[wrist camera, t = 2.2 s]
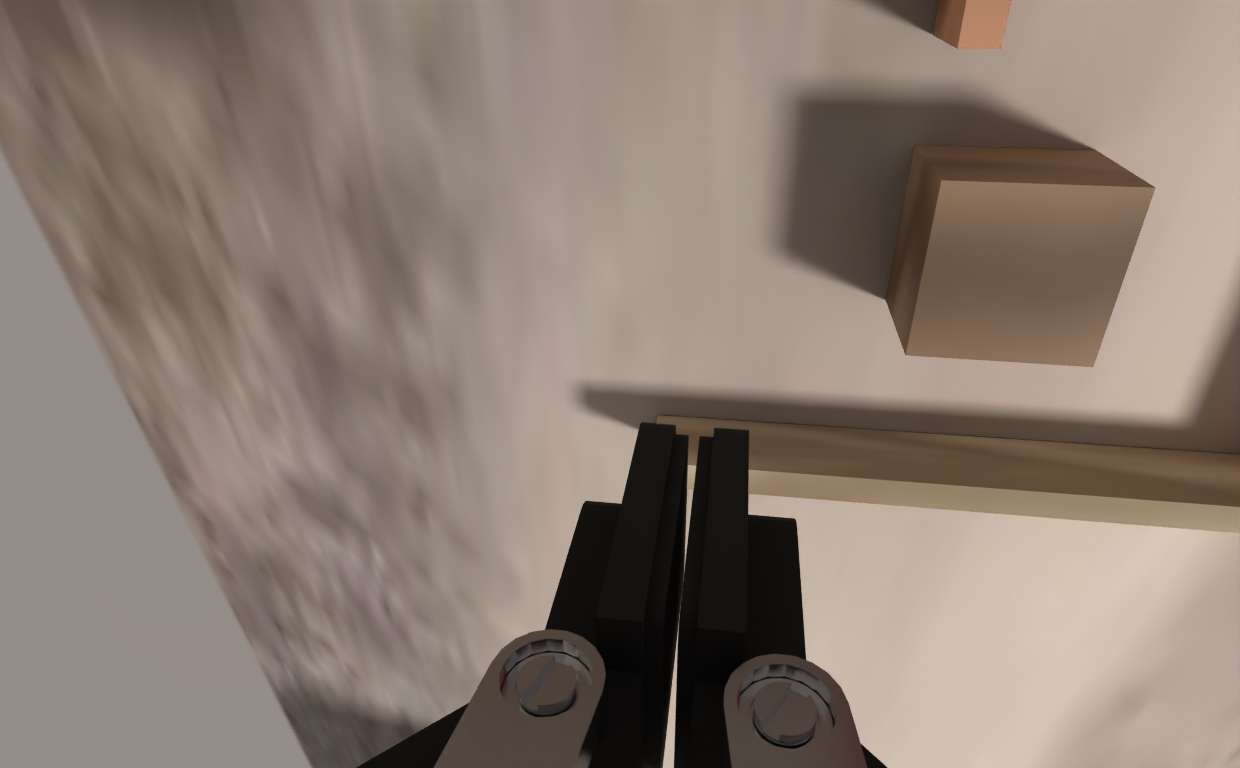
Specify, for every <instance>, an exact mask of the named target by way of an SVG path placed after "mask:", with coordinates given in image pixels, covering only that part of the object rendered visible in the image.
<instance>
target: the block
mask: <svg viewBox="0 0 1240 768" xmlns="http://www.w3.org/2000/svg"><path fill="white" fill-rule="evenodd" d="M1154 190H1155V187H1154V186H1152V185H1150V184H1149V183H1147V182H1146V181H1144V180H1142V179H1141V178H1139V177H1138V176H1136V175H1134V174H1133V173H1131V172H1130V171H1128V170H1127V169H1125V168H1123V167H1122V166H1120V165H1119V164H1117V163H1115V162H1114V161H1112V160H1111V159H1109V158H1107V157H1106V156H1104V155H1103V154H1101V153H1100V152H1098V151H1096V150H1081V149H1046V148H1011V147H975V146H940V145H914V149H913V155H912V160H911V166H910V171H909V177H908V182H907V188H906V193H905V198H904V204H903V209H902V215H901V220H900V226H899V231H898V237H897V242H896V248H895V253H894V259H893V264H892V269H891V275H890V280H889V286H888V291H887V297H886V302H887V305H888V308H889V310H890V313H891V316H892V319H893V322H894V324H895V327H896V330H897V333H898V336H899V338H900V341H901V344H902V347H903V349H904V352H905V355H911V356H927V357H942V358H958V359H974V360H990V361H1006V362H1021V363H1037V364H1053V365H1069V366H1085V367H1093V366H1094V363H1095V360H1096V357H1097V354H1098V351H1099V349H1100V346H1101V343H1102V340H1103V337H1104V334H1105V331H1106V328H1107V326H1108V323H1109V320H1110V317H1111V314H1112V311H1113V308H1114V305H1115V302H1116V300H1117V297H1118V294H1119V291H1120V288H1121V285H1122V282H1123V279H1124V277H1125V274H1126V271H1127V268H1128V265H1129V262H1130V259H1131V256H1132V254H1133V251H1134V248H1135V245H1136V242H1137V239H1138V236H1139V233H1140V231H1141V228H1142V225H1143V222H1144V219H1145V216H1146V213H1147V210H1148V207H1149V205H1150V202H1151V199H1152V196H1153V193H1154Z"/></svg>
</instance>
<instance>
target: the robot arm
mask: <svg viewBox="0 0 1240 768" xmlns="http://www.w3.org/2000/svg"><path fill="white" fill-rule="evenodd" d="M688 447H689V435H683V434H676V425H672V424H657V423H643V422H642V423H641V424H640V427H639V431H638V436H637V440H636V444H635V449H634V453H633V457H632V461H631V466H630V470H629V474H628V479H627V483H626V487H625V491H624V496H623V500H622V504H617V503H605V502H593V501H585V503H584V504H583V506H582V509H581V512H580V515H579V519H578V522H577V525H576V529H575V532H574V535H573V539H572V542H571V545H570V549H569V552H568V555H567V558H566V562H565V565H564V568H563V572H562V575H561V578H560V582H559V585H558V588H557V592H556V595H555V598H554V602H553V605H552V608H551V612H550V615H549V618H548V622H547V625H546V628H545V630H541V631H534V632H531V633H528V634H526V635H523V636H521V637H518V638H516V639H515V640H513V641H512V642H510V643H509V644H508V645H506V646H505V647H504V648H502V649H501V651H500V652H499V653H498V655H497V656H496V657H495V659H494V660H493V661H492V663H491V664H490V666H489V668H488V670H487V672H486V673H485V675H484V677H483V679H482V681H481V683H480V684H479V686H478V688H477V690H476V692H475V693H474V695H473V697H472V699H471V701H470V703H468V704H466V705H464V706H463V707H461V708H459V709H457V710H456V711H454V712H452V713H450V714H449V715H447V716H445V717H443V718H442V719H440V720H438V721H437V722H435V723H433V724H431V725H430V726H428V727H426V728H424V729H423V730H421V731H419V732H417V733H416V734H414V735H412V736H411V737H409V738H407V739H405V740H404V741H402V742H400V743H398V744H397V745H395V746H393V747H391V748H390V749H388V750H386V751H385V752H383V753H381V754H379V755H378V756H376V757H374V758H372V759H371V760H369V761H367V762H365V763H364V764H362V765H360V766H359V767H357V768H662V767H663V758H664V749H665V740H666V731H667V723H668V714H669V705H670V696H671V687H672V678H673V669H674V660H675V651H676V642H677V633H678V624H679V634H678V659H677V691H676V722H675V753H674V768H887V767H886V766H885V765H884V764H883V763H882V762H881V761H879V760H878V759H877V758H876V757H875V756H874V755H873V754H872V753H871V752H869V751H868V750H867V749H866V748H865V747H864V746H863V745H862V744H861V743H860V741H859V737H858V734H857V730H856V727H855V723H854V720H853V717H852V713H851V710H850V706H849V703H848V701H847V699H846V697H845V695H844V693H843V691H842V689H841V687H840V686H839V685H838V684H837V682H836V681H835V680H834V679H833V678H832V677H831V676H830V675H829V674H828V673H827V672H826V671H824V670H823V669H821V668H820V667H818V666H817V665H815V664H814V663H812V662H809V661H807V660H806V652H805V638H804V623H803V608H802V594H801V579H800V564H799V549H798V535H797V524H796V520H795V519H793V518H781V517H770V516H758V515H748V486H749V430H743V429H729V428H714V435H713V437H710V436H700V437H699V446H698V455H697V464H696V473H695V482H694V491H693V500H692V509H691V518H690V527H689V536H688V545H687V554H686V563H685V572H684V561H685V532H686V504H687V476H688ZM683 577H684V581H683ZM682 588H683V590H682ZM681 597H682V599H681ZM680 606H681V608H680ZM679 615H680V619H679Z"/></svg>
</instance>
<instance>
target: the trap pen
mask: <svg viewBox="0 0 1240 768" xmlns="http://www.w3.org/2000/svg"><path fill="white" fill-rule="evenodd" d="M1010 5H1011V0H939V2H938V8H937V14H936V19H935V25H934V31H933V35H934V36H936V37H937V38H939V39H941V40H943V41H945V42H946V43H948V44H950V45H952V46H954V47H955V48H957V49H1001V46H1002V42H1003V37H1004V32H1005V28H1006V23H1007V18H1008V14H1009V9H1010ZM656 423H657V424H672V425H676V434H683V435H689V447H688V476H687V489H694V482H695V473H696V464H697V455H698V446H699V437H700V436H710V437H713V435H714V428H729V429H743V430H749V486H748V494H759V495H772V496H784V497H797V498H809V499H822V500H834V501H846V502H859V503H871V504H884V505H896V506H909V507H921V508H934V509H946V510H959V511H971V512H984V513H996V514H1008V515H1021V516H1033V517H1046V518H1058V519H1071V520H1083V521H1096V522H1108V523H1121V524H1133V525H1145V526H1158V527H1170V528H1183V529H1195V530H1208V531H1220V532H1233V533H1240V455H1239V454H1225V453H1210V452H1195V451H1180V450H1165V449H1151V448H1136V447H1121V446H1106V445H1092V444H1077V443H1062V442H1047V441H1032V440H1018V439H1003V438H988V437H973V436H958V435H944V434H929V433H914V432H899V431H884V430H870V429H855V428H840V427H825V426H810V425H796V424H781V423H766V422H751V421H736V420H722V419H707V418H692V417H677V416H662V415H657V420H656Z"/></svg>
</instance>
